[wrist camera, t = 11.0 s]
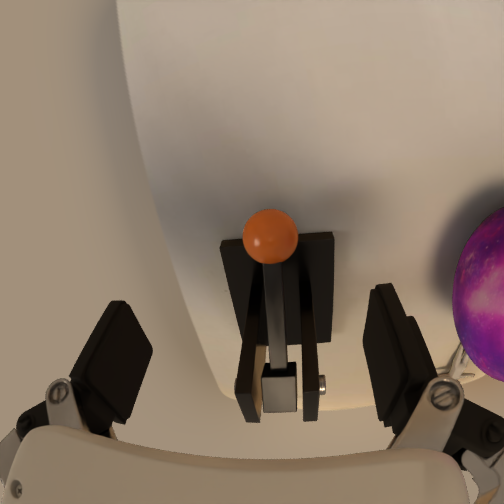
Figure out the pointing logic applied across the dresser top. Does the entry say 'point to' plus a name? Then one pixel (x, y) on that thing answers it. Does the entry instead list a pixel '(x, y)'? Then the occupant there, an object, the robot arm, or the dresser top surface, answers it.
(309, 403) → the switch bracket
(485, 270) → the decorative orb
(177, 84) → the dresser top surface
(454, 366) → the figurine
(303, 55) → the dresser top surface
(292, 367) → the switch lever
